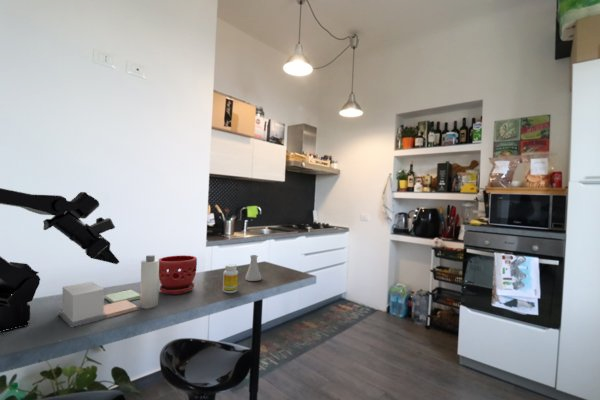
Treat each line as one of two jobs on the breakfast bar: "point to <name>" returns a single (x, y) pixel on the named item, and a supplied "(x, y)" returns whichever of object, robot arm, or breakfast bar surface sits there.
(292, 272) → the breakfast bar surface
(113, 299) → the sage green pad
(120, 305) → the terracotta pad
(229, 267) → the supplement bottle
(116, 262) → the robot arm
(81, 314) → the grey unit
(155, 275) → the cream bottle
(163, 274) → the plant pot
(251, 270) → the flask
